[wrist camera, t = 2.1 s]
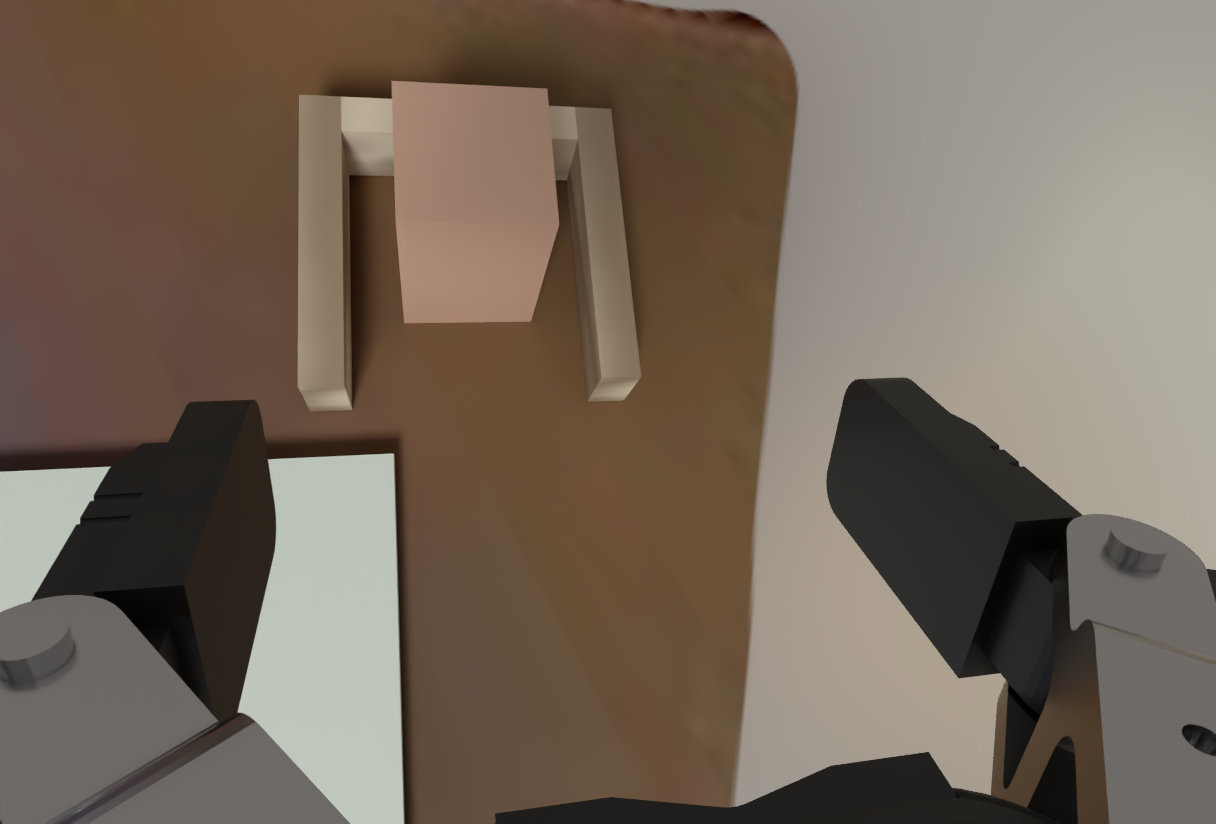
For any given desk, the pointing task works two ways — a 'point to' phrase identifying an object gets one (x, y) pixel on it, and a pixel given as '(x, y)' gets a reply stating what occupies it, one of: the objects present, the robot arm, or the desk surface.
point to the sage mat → (284, 615)
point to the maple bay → (363, 145)
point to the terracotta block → (472, 200)
